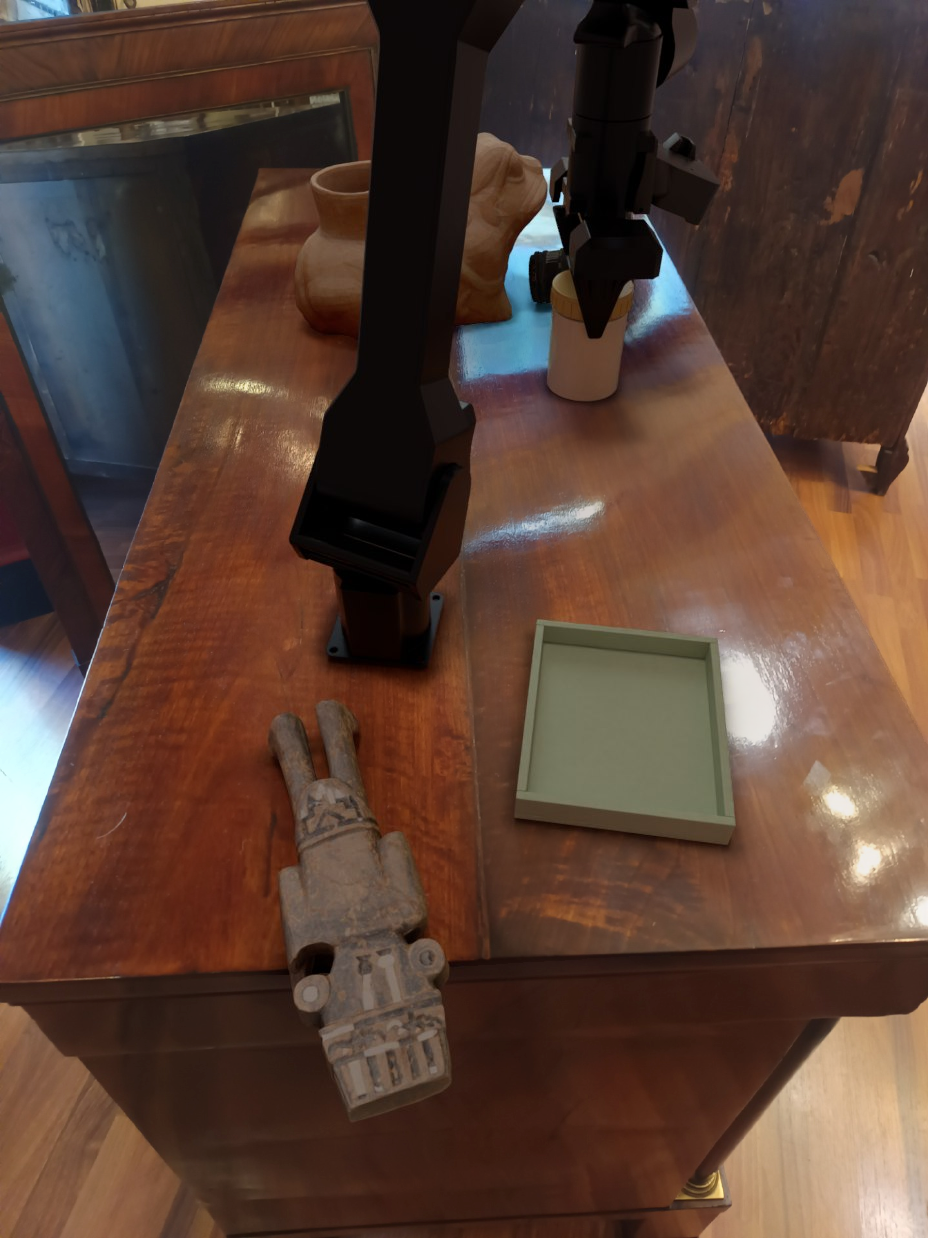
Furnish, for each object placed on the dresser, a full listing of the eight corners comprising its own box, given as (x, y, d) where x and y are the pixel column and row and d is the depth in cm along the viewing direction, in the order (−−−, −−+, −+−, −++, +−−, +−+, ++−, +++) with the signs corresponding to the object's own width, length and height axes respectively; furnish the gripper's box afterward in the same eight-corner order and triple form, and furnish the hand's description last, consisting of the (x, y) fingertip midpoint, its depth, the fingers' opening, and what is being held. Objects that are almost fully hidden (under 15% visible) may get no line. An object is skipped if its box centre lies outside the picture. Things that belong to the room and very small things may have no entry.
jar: (616, 404, 72) (630, 309, 66) (544, 398, 73) (551, 304, 67) (617, 368, 76) (631, 276, 70) (549, 363, 77) (556, 271, 71)
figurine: (255, 774, 47) (325, 1163, 33) (233, 718, 43) (300, 1127, 29) (373, 739, 48) (487, 1099, 34) (360, 682, 45) (482, 1058, 31)
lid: (637, 321, 67) (640, 301, 66) (554, 322, 67) (556, 302, 66) (624, 285, 72) (627, 266, 71) (546, 286, 72) (548, 267, 70)
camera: (548, 280, 93) (537, 186, 86) (645, 270, 90) (641, 171, 83) (528, 340, 83) (514, 238, 76) (637, 331, 80) (632, 224, 73)
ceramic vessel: (566, 314, 84) (581, 152, 74) (317, 361, 77) (294, 190, 67) (511, 263, 93) (517, 112, 83) (284, 301, 86) (258, 142, 76)
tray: (727, 845, 42) (736, 826, 41) (514, 818, 43) (515, 798, 42) (711, 658, 51) (718, 637, 50) (534, 639, 52) (536, 618, 51)
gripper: (759, 150, 53) (708, 372, 64) (694, 77, 66) (660, 272, 77) (586, 151, 53) (565, 374, 64) (555, 78, 66) (542, 274, 77)
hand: (588, 319), depth 70 cm, fingers closed on lid, 6 cm apart
